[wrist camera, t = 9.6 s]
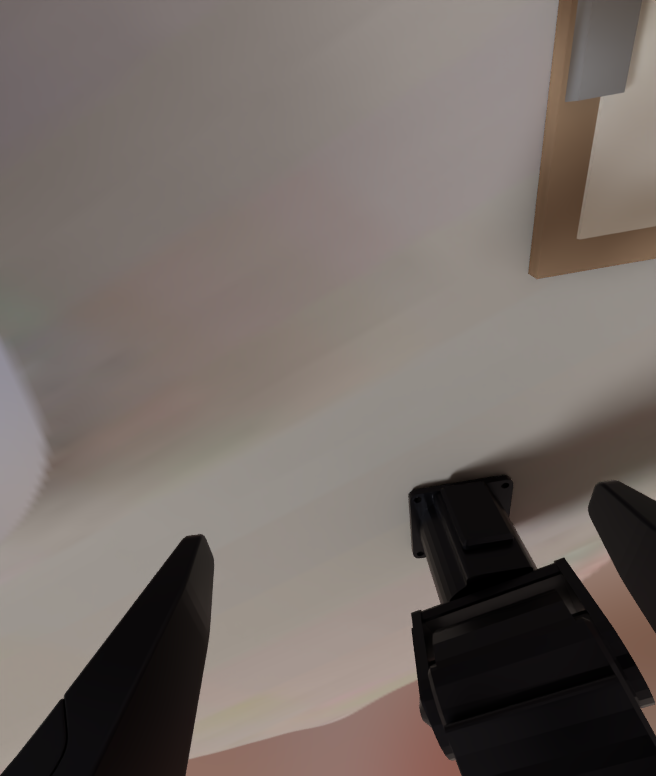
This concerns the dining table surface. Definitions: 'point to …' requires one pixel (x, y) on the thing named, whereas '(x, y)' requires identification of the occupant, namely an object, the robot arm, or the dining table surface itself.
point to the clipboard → (598, 140)
